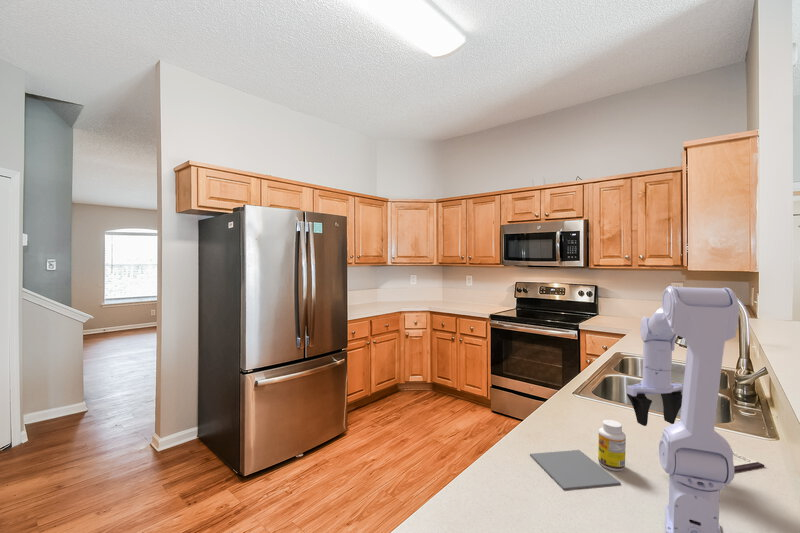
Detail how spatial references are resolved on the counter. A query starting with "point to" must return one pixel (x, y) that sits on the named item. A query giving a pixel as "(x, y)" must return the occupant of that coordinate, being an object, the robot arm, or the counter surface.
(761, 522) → the counter surface
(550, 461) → the mat
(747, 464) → the chocolate bar
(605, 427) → the supplement bottle
